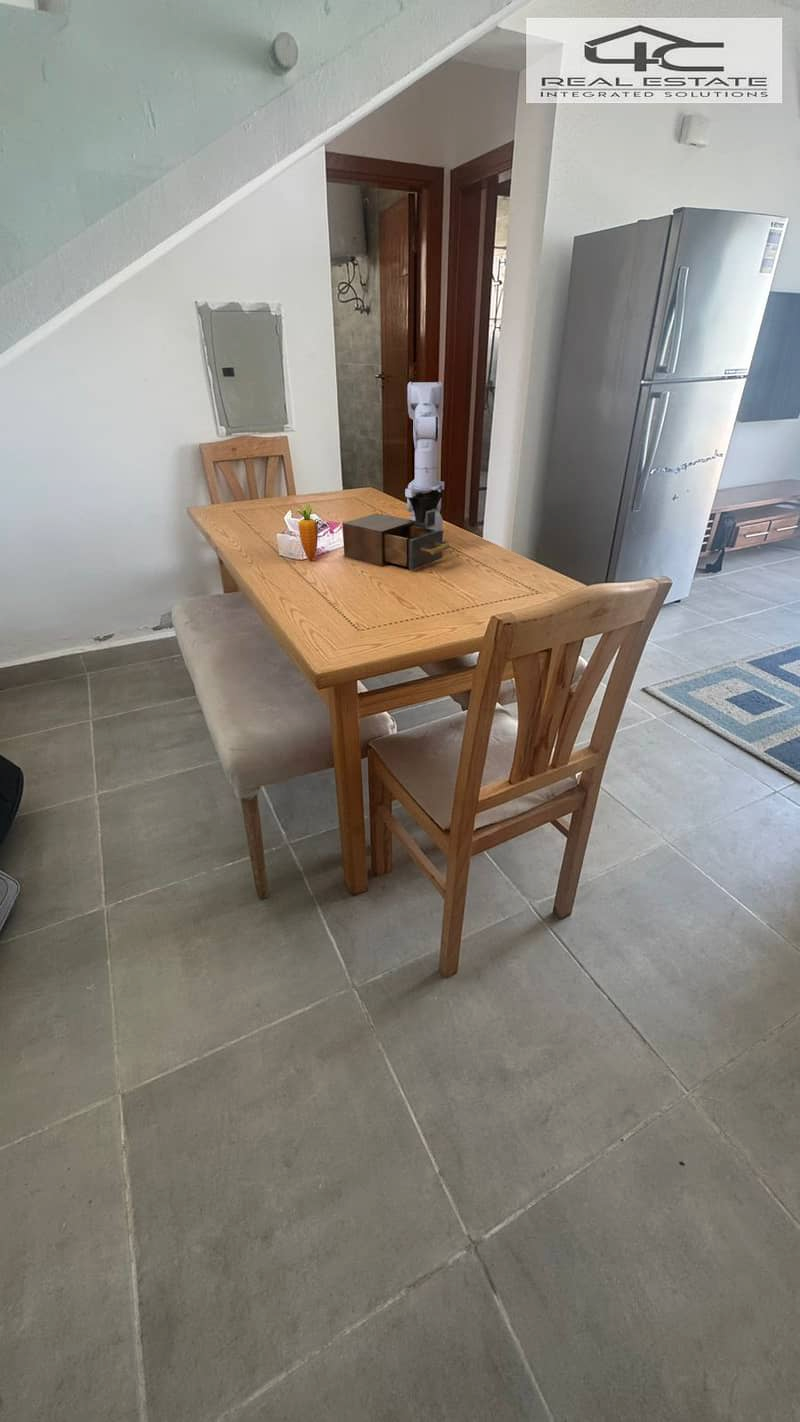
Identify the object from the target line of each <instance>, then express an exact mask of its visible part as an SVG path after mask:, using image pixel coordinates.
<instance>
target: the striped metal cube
mask: <svg viewBox="0 0 800 1422" xmlns="http://www.w3.org/2000/svg"><path fill="white" fill-rule="evenodd" d="M415 526H416V527H421V528H426V529H427V528H430V527H433V526H435V509H432V508H428V507H426V509H425V519H424V523H418V522H416V518H415Z"/></svg>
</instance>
